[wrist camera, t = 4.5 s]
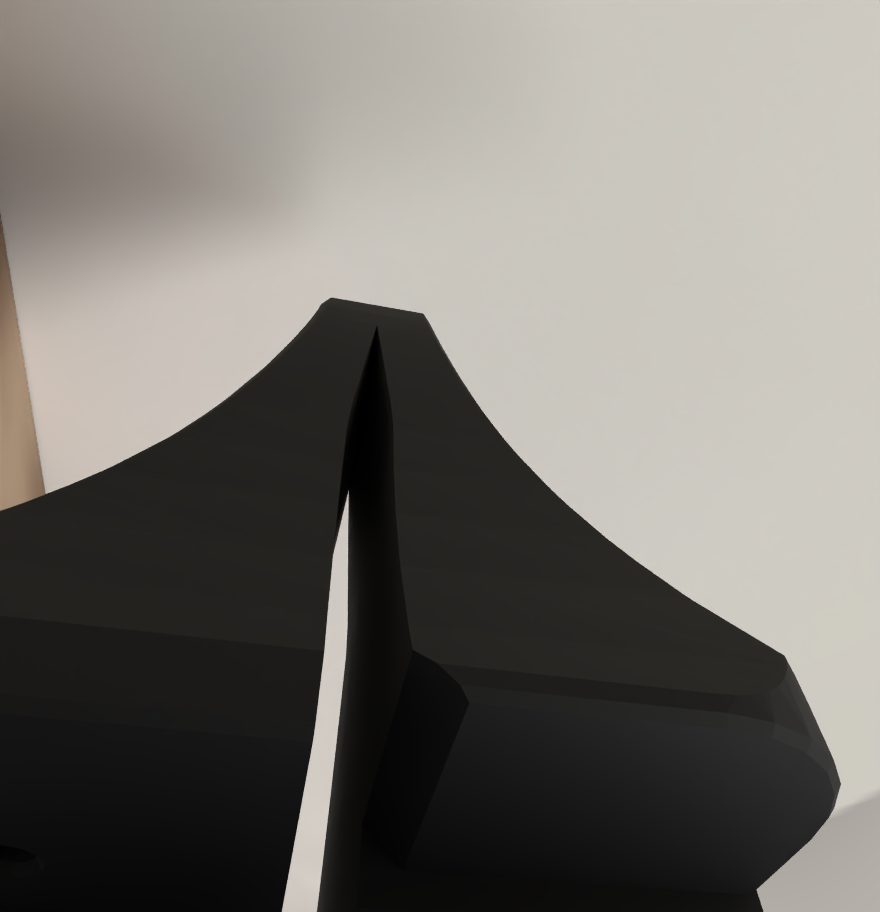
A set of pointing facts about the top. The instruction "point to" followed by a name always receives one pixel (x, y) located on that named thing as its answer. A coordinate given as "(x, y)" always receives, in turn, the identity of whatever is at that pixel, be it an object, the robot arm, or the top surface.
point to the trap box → (15, 406)
